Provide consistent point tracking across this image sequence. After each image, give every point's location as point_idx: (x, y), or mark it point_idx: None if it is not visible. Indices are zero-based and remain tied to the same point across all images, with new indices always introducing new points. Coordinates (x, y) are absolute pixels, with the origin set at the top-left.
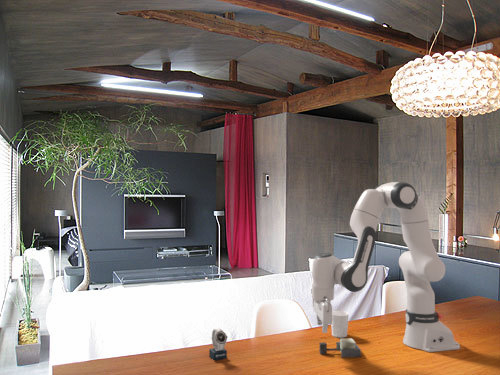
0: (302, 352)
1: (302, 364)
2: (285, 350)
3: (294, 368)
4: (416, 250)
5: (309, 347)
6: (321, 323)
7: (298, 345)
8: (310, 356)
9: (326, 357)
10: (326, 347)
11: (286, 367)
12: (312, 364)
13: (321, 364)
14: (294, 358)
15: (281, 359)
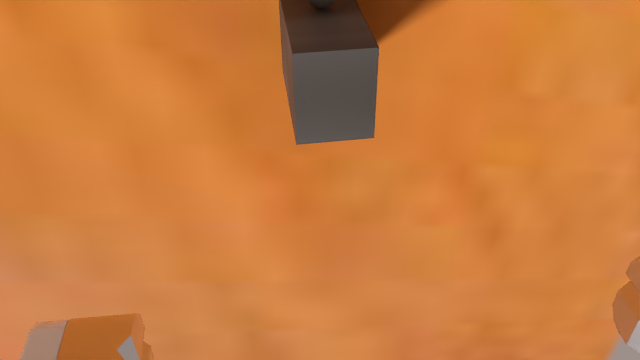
0: (284, 233)
1: (564, 239)
2: (239, 345)
3: (616, 286)
4: None
5: (118, 166)
6: (126, 350)
7: (77, 262)
8: (397, 172)
9: (452, 6)
10: (366, 28)
11: (580, 326)
12: (592, 167)
13: (623, 89)
14: (426, 288)
15: (431, 356)
